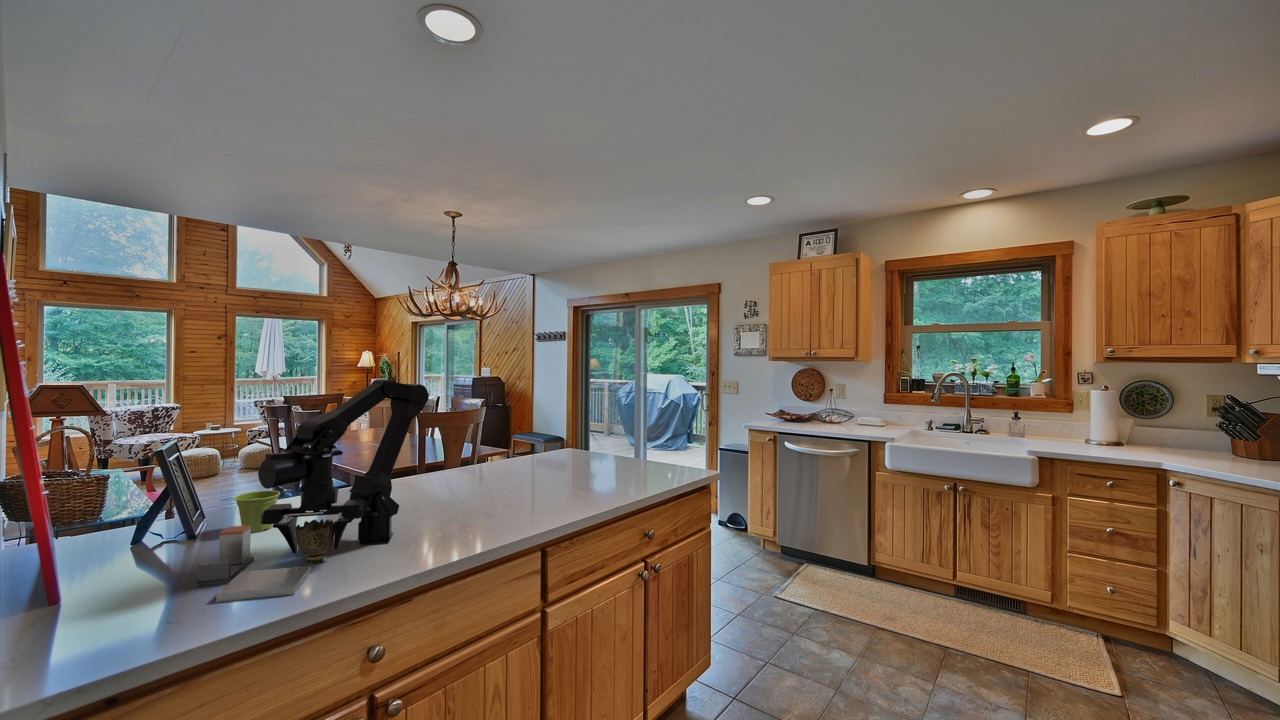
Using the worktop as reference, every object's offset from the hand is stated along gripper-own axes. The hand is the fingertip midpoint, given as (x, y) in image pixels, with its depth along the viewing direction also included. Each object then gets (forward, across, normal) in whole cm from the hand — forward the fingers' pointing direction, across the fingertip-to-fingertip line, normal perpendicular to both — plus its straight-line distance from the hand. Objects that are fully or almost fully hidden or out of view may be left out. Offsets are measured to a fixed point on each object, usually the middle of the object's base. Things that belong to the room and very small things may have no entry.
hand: (315, 551), depth 112 cm
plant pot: (+2, +20, -27) cm, 34 cm away
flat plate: (+2, +5, +12) cm, 13 cm away
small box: (+1, +15, -1) cm, 15 cm away
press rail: (+2, +15, +2) cm, 15 cm away
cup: (+2, 0, 0) cm, 2 cm away
